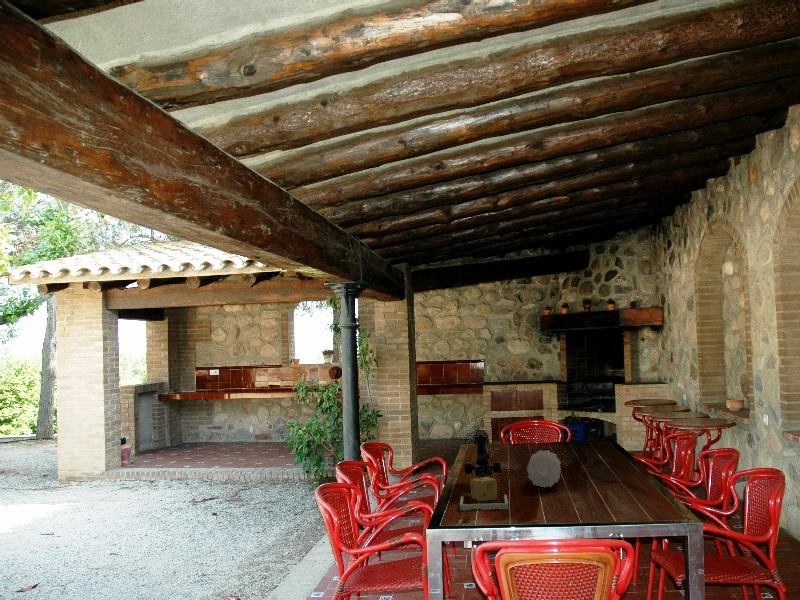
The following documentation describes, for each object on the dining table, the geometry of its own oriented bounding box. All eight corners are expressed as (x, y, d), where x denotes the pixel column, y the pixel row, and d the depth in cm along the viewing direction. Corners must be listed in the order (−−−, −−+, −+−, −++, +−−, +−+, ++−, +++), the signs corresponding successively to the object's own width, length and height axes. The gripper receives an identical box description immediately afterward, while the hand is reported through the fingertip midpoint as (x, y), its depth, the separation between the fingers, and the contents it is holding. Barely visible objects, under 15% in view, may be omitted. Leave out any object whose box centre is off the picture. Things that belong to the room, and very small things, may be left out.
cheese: (478, 502, 345) (477, 481, 345) (470, 498, 355) (469, 477, 356) (498, 499, 347) (496, 479, 348) (489, 495, 358) (488, 475, 358)
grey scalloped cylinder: (554, 487, 387) (553, 495, 363) (523, 473, 392) (521, 480, 368) (566, 456, 387) (566, 462, 363) (536, 443, 392) (534, 448, 368)
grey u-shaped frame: (461, 501, 348) (460, 496, 349) (506, 499, 346) (506, 494, 346) (460, 510, 329) (459, 505, 330) (508, 509, 327) (508, 503, 327)
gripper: (463, 447, 367) (463, 473, 356) (499, 446, 365) (501, 472, 353) (464, 460, 375) (465, 485, 363) (499, 459, 372) (501, 484, 361)
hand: (483, 481), depth 360 cm, fingers closed
